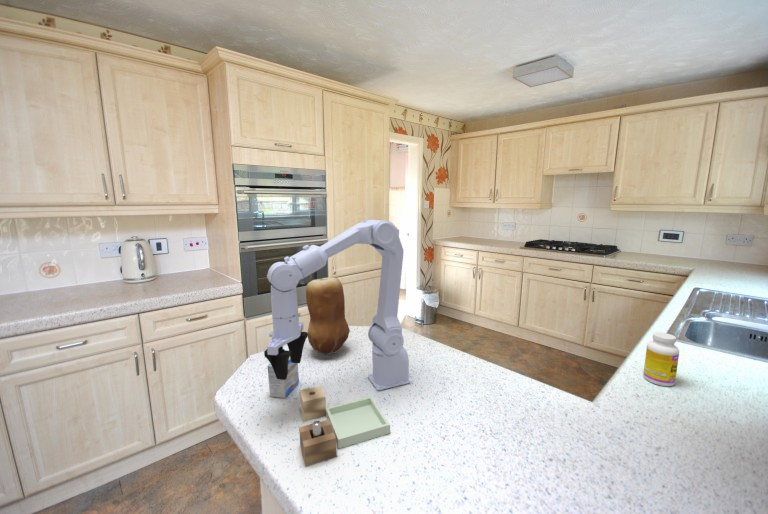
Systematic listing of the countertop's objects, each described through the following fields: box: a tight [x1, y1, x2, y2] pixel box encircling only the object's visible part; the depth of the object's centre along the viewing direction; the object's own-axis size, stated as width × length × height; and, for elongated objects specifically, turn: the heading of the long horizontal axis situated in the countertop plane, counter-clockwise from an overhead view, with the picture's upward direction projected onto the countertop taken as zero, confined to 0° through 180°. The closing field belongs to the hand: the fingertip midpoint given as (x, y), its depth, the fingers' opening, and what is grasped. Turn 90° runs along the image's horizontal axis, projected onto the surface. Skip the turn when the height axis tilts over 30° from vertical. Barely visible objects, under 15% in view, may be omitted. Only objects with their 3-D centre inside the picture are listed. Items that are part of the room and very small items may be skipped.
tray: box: [325, 396, 391, 449], centre depth 73 cm, size 11×11×2 cm
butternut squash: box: [305, 276, 351, 355], centre depth 107 cm, size 14×13×25 cm
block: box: [298, 385, 327, 423], centre depth 77 cm, size 5×5×5 cm
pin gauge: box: [311, 420, 321, 438], centre depth 65 cm, size 2×2×6 cm
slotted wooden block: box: [298, 419, 338, 467], centre depth 65 cm, size 6×6×4 cm
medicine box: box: [267, 357, 300, 399], centre depth 87 cm, size 8×4×9 cm, turn 168°
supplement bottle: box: [642, 331, 680, 387], centre depth 88 cm, size 7×7×13 cm
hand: (289, 370), depth 78 cm, fingers open, 7 cm apart
